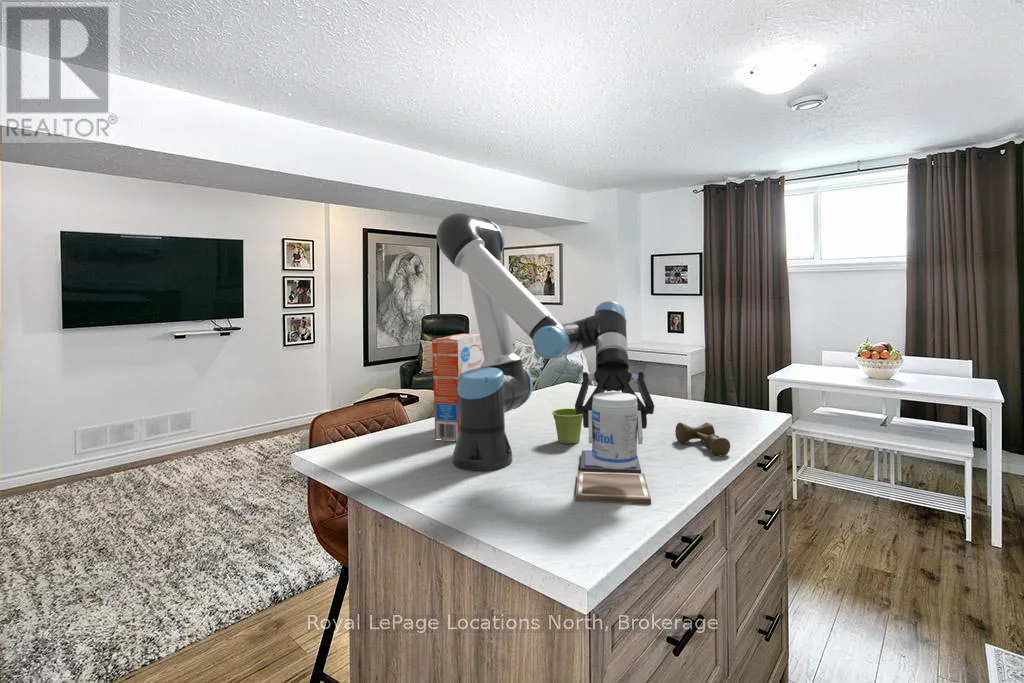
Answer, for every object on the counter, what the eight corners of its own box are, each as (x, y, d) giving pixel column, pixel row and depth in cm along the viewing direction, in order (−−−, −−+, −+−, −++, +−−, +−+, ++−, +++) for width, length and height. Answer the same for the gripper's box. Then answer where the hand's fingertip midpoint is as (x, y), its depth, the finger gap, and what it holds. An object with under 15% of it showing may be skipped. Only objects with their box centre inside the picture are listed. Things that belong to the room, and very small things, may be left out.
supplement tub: (583, 464, 111) (582, 397, 110) (605, 453, 118) (604, 390, 117) (625, 473, 105) (624, 402, 104) (645, 461, 112) (645, 394, 111)
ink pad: (581, 454, 136) (581, 448, 136) (636, 456, 134) (636, 450, 134) (580, 472, 123) (580, 466, 123) (641, 474, 120) (641, 468, 120)
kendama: (704, 460, 132) (668, 437, 152) (738, 458, 134) (698, 436, 153) (705, 437, 131) (669, 417, 151) (740, 435, 133) (699, 416, 153)
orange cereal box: (460, 441, 151) (457, 339, 149) (435, 440, 154) (432, 339, 151) (487, 423, 173) (484, 333, 171) (464, 421, 175) (462, 333, 173)
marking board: (578, 475, 121) (578, 471, 121) (644, 477, 118) (644, 473, 118) (575, 500, 106) (575, 495, 106) (651, 503, 104) (651, 498, 104)
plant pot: (576, 448, 143) (576, 417, 142) (546, 443, 148) (546, 413, 147) (590, 439, 151) (590, 410, 150) (561, 435, 156) (561, 407, 155)
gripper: (659, 365, 123) (668, 450, 109) (565, 366, 127) (563, 448, 113) (661, 345, 118) (672, 432, 103) (563, 346, 121) (560, 430, 107)
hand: (615, 440), depth 108 cm, fingers closed on supplement tub, 9 cm apart
